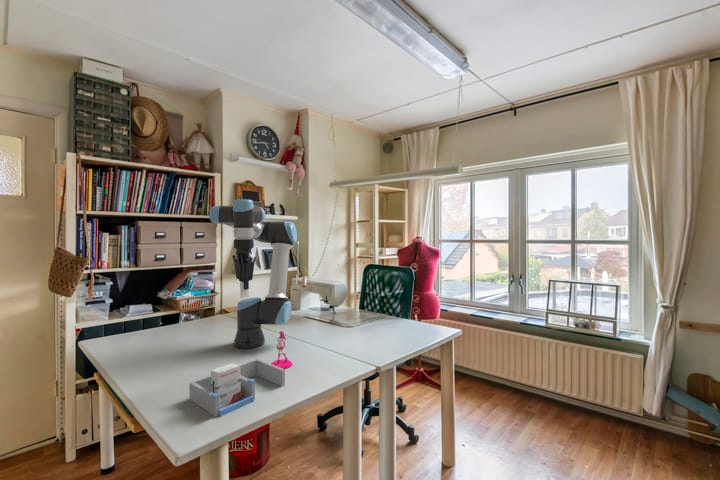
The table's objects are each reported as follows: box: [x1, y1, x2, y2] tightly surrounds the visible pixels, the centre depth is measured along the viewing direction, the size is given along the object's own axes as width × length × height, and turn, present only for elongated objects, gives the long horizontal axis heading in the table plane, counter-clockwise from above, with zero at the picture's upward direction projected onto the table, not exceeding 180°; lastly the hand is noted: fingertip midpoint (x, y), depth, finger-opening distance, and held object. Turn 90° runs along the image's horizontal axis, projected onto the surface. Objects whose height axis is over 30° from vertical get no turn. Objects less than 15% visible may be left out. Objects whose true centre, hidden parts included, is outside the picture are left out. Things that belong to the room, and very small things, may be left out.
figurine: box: [270, 330, 294, 370], centre depth 147 cm, size 10×10×15 cm
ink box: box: [210, 362, 242, 409], centre depth 116 cm, size 8×5×12 cm, turn 141°
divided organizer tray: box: [188, 358, 286, 417], centre depth 123 cm, size 18×28×7 cm, turn 142°
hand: (244, 297), depth 136 cm, fingers closed
